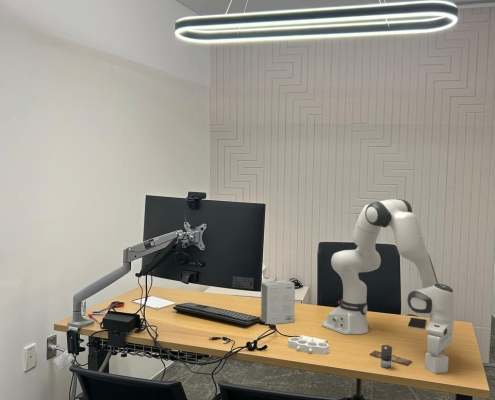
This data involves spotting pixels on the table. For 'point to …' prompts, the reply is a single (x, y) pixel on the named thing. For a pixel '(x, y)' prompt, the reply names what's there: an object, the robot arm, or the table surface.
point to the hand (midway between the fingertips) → (439, 359)
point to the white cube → (436, 363)
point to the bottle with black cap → (386, 356)
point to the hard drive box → (277, 302)
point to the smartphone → (417, 323)
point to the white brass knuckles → (309, 344)
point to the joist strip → (394, 358)
